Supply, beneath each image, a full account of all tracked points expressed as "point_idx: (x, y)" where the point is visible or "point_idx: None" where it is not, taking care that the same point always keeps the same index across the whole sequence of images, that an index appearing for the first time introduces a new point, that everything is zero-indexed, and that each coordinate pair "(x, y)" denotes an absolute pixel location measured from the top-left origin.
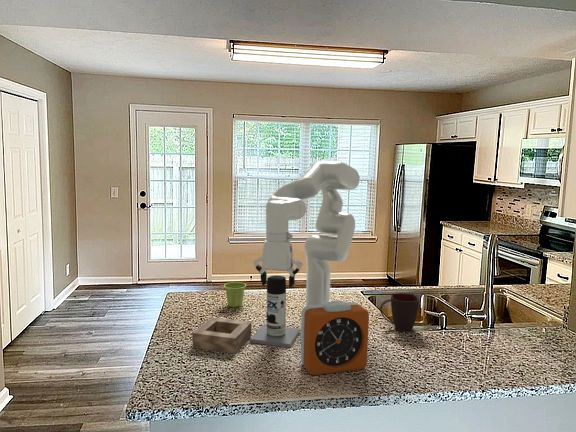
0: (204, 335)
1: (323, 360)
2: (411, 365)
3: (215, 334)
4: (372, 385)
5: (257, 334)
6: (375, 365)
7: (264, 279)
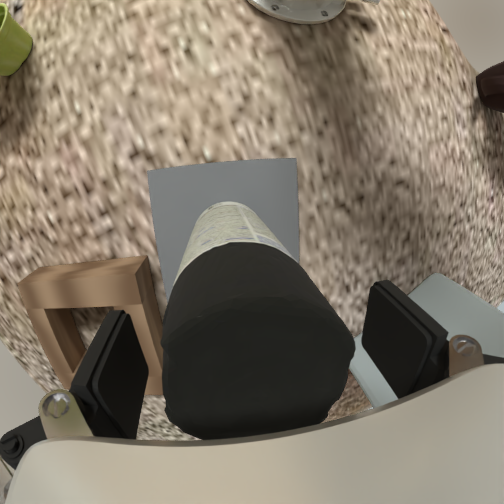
0: None
1: None
2: (490, 259)
3: None
4: None
5: (172, 267)
6: None
7: (136, 397)
